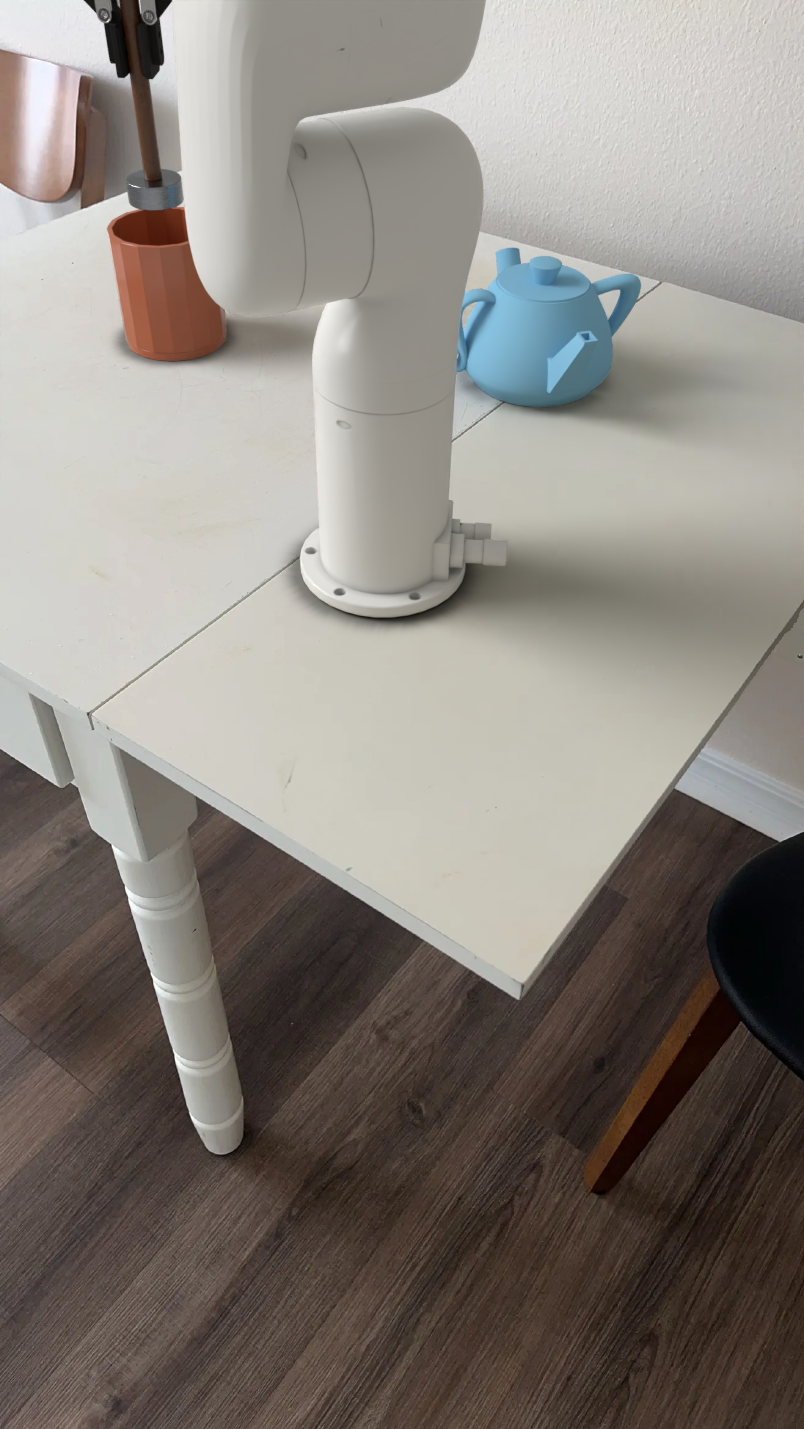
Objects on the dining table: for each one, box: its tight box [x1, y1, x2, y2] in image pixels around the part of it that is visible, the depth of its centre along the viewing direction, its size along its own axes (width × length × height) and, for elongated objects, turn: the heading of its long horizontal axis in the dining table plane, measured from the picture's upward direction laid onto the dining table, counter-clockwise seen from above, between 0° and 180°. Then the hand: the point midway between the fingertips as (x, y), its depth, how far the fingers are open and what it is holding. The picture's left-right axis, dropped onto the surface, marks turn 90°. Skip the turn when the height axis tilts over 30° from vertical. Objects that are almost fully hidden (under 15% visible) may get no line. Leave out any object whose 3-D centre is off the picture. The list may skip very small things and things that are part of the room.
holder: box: [106, 206, 228, 362], centre depth 105 cm, size 10×10×11 cm
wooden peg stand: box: [119, 0, 184, 211], centre depth 94 cm, size 5×5×16 cm
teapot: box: [456, 247, 642, 408], centre depth 101 cm, size 15×17×11 cm
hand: (138, 72), depth 92 cm, fingers closed on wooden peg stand
